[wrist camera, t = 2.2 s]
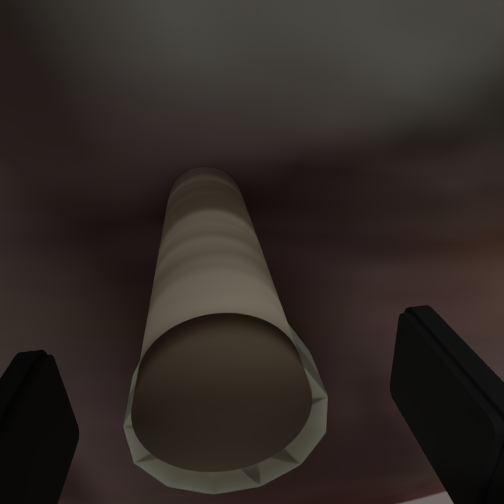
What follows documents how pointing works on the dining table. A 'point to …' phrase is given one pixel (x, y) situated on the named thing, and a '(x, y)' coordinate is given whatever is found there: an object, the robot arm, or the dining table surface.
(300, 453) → the bead
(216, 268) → the peg
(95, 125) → the dining table surface
